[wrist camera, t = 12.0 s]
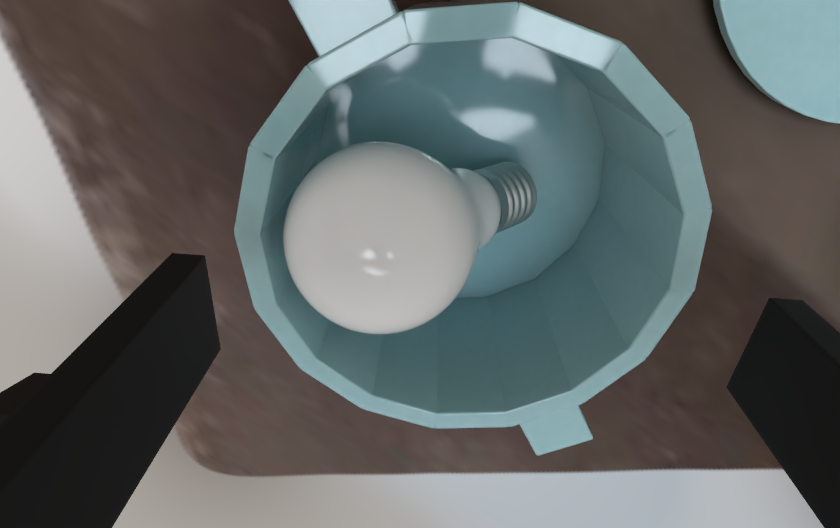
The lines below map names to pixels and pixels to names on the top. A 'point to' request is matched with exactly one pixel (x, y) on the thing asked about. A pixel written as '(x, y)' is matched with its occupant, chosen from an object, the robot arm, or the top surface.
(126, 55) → the top surface
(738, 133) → the top surface
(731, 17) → the lid
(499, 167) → the lightbulb
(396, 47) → the pot
